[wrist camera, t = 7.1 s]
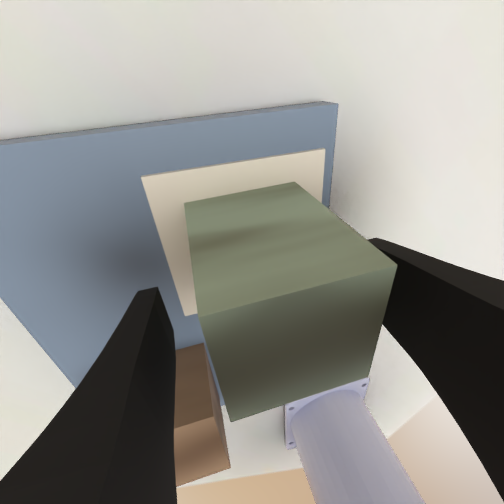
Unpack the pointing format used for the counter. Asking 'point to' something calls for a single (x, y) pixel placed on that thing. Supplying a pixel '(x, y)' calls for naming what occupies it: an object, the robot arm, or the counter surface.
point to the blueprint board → (135, 215)
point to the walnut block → (197, 418)
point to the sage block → (284, 295)
